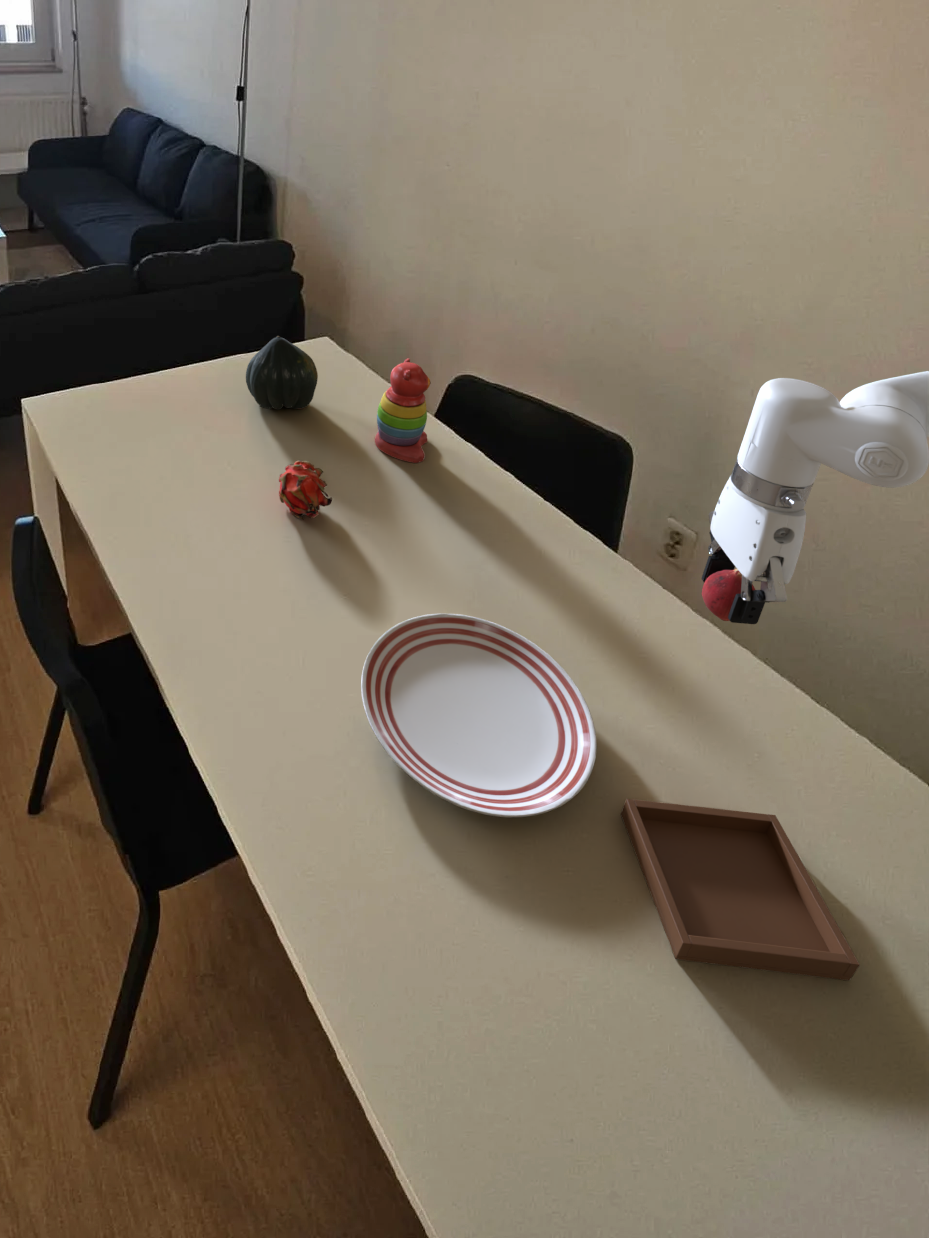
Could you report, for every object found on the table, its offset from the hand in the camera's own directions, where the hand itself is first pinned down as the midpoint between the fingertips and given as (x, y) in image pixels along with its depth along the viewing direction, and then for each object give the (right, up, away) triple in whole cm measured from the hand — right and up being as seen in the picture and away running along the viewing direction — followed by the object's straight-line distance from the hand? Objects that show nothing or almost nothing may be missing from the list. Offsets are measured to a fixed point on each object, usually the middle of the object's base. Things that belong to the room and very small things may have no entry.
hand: (728, 600), depth 95 cm
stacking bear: (-29, +10, +54) cm, 62 cm away
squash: (-52, +17, +67) cm, 87 cm away
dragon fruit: (-50, +2, +35) cm, 61 cm away
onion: (0, -3, +1) cm, 3 cm away
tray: (-12, -22, -18) cm, 31 cm away
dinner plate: (-33, -14, -1) cm, 36 cm away
